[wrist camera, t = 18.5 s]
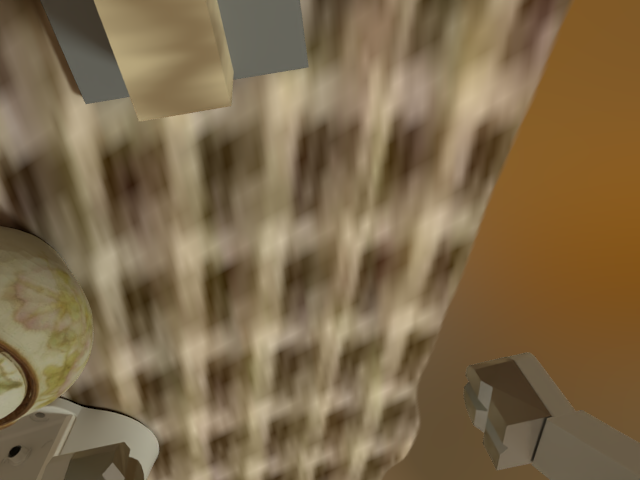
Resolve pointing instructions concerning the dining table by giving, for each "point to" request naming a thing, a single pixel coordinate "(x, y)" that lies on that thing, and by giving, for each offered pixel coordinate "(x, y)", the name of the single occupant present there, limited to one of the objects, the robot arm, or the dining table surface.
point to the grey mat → (239, 26)
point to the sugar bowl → (38, 326)
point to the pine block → (169, 54)
